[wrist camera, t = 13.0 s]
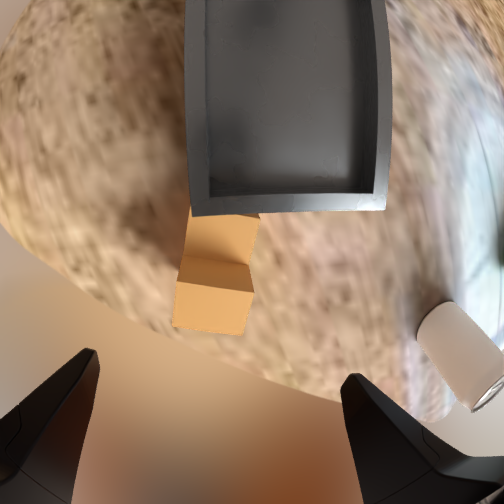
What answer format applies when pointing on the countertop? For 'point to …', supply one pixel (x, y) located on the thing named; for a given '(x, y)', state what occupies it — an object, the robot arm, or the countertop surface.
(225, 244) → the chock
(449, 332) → the can
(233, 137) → the tray
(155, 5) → the countertop surface
